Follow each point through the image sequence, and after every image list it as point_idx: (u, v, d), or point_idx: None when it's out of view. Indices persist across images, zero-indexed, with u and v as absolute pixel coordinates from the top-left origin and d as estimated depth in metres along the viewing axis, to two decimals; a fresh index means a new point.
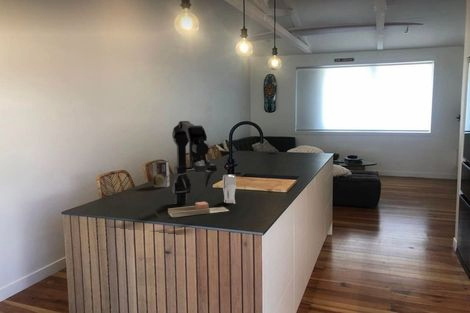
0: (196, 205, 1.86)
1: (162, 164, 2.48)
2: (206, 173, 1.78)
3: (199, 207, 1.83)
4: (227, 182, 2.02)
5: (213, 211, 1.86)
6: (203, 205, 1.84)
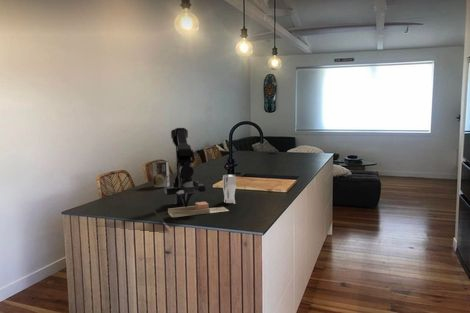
0: (196, 205, 1.86)
1: (162, 164, 2.48)
2: (186, 194, 1.83)
3: (199, 207, 1.83)
4: (227, 182, 2.02)
5: (213, 211, 1.86)
6: (203, 205, 1.84)
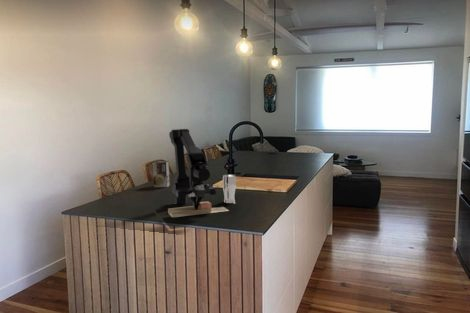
0: (199, 205, 1.86)
1: (162, 164, 2.48)
2: (197, 197, 1.85)
3: (202, 207, 1.84)
4: (227, 182, 2.02)
5: (213, 211, 1.86)
6: (206, 205, 1.85)
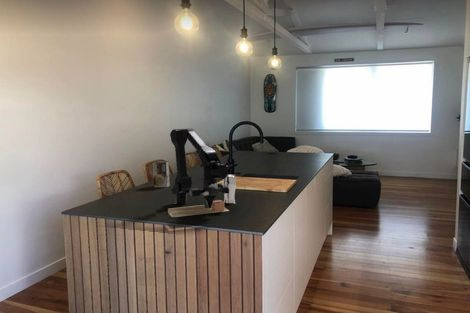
0: (212, 203, 1.89)
1: (162, 164, 2.48)
2: (210, 195, 1.88)
3: (215, 205, 1.86)
4: (227, 182, 2.02)
5: (213, 211, 1.86)
6: (219, 203, 1.87)
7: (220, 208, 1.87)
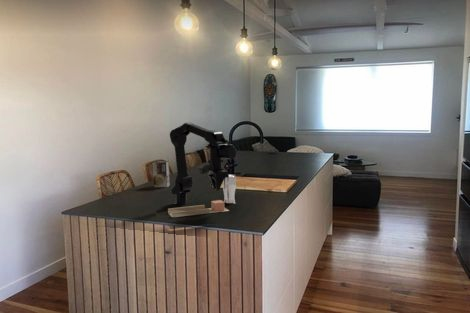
0: (212, 203, 1.89)
1: (162, 164, 2.48)
2: None
3: (215, 205, 1.86)
4: (227, 182, 2.02)
5: (213, 211, 1.86)
6: (219, 203, 1.87)
7: (220, 208, 1.87)
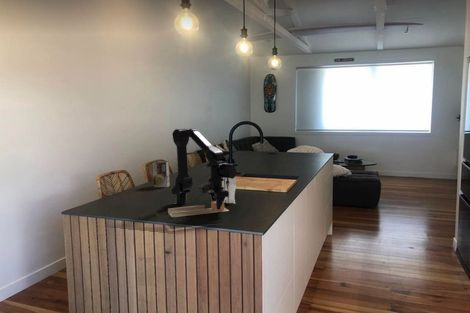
0: (212, 203, 1.89)
1: (162, 164, 2.48)
2: None
3: (215, 205, 1.86)
4: (227, 182, 2.02)
5: (213, 211, 1.86)
6: None
7: (220, 208, 1.88)
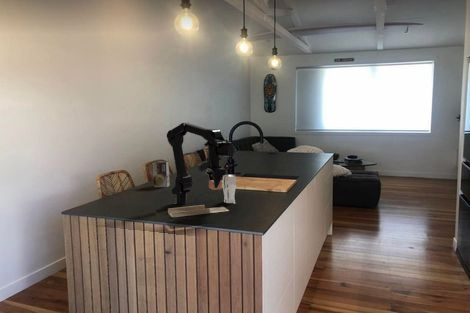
0: (210, 182, 1.90)
1: (162, 164, 2.48)
2: None
3: (213, 184, 1.88)
4: (227, 182, 2.02)
5: (213, 211, 1.86)
6: None
7: (218, 187, 1.89)
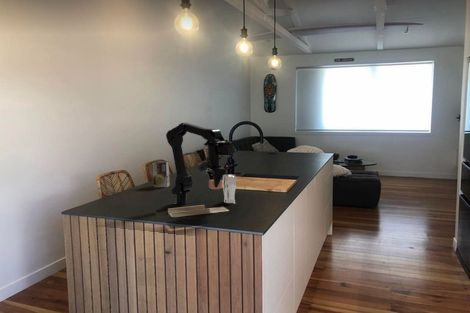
0: (210, 182, 1.91)
1: (162, 164, 2.48)
2: None
3: (213, 183, 1.88)
4: (227, 182, 2.02)
5: (213, 211, 1.86)
6: None
7: (218, 186, 1.89)
